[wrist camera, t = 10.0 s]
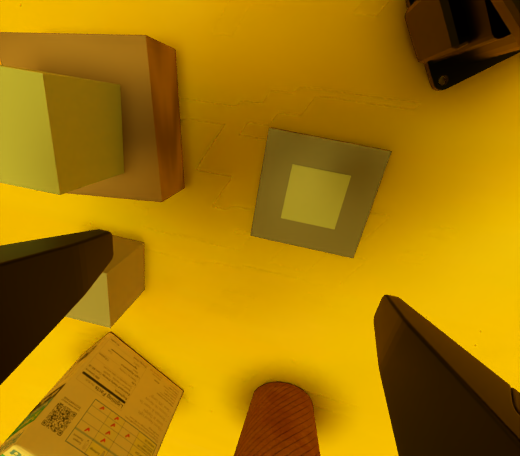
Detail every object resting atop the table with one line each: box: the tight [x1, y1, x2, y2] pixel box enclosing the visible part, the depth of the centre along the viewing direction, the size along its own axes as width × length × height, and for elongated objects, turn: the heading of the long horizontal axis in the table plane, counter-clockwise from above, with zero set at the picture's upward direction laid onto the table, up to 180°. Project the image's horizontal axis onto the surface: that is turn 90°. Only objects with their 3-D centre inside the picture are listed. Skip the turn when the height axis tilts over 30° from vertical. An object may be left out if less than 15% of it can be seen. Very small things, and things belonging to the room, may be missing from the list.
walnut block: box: [0, 32, 184, 202], centre depth 18 cm, size 9×9×4 cm
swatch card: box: [251, 128, 392, 258], centre depth 20 cm, size 8×8×1 cm
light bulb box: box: [0, 333, 184, 456], centre depth 26 cm, size 11×7×11 cm, turn 44°
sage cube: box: [0, 65, 124, 195], centre depth 14 cm, size 5×5×5 cm
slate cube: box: [65, 230, 145, 328], centre depth 23 cm, size 5×5×5 cm
